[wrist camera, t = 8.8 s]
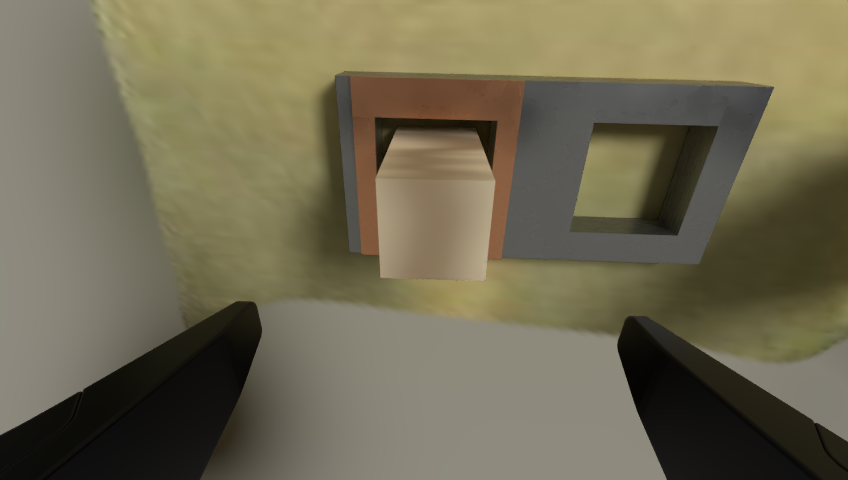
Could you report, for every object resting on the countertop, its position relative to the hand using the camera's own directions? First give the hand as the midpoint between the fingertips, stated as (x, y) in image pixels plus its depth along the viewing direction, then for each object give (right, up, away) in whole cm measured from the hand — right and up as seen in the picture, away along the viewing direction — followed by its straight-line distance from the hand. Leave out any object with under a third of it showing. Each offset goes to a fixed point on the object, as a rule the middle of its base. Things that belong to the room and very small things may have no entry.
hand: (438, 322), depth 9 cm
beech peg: (0, +6, +11) cm, 13 cm away
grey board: (+5, +6, +11) cm, 14 cm away
